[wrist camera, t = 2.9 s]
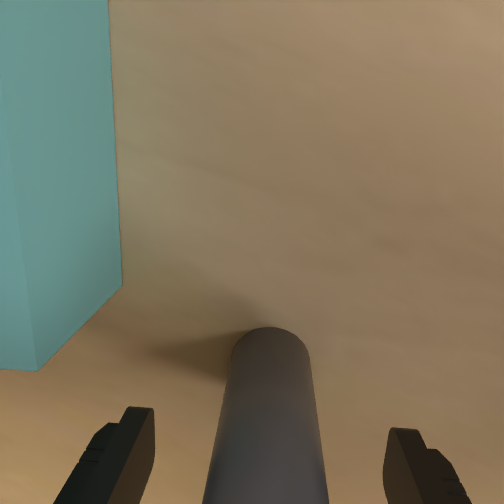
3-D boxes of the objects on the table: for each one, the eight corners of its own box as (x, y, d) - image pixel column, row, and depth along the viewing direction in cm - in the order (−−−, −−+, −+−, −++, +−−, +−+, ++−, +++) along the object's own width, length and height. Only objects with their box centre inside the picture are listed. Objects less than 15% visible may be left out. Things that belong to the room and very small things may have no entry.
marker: (315, 328, 16) (407, 809, 5) (308, 401, 17) (369, 945, 6) (230, 322, 16) (119, 773, 5) (227, 395, 17) (131, 912, 6)
